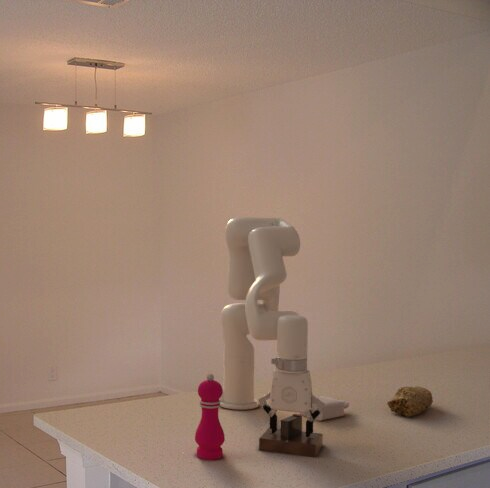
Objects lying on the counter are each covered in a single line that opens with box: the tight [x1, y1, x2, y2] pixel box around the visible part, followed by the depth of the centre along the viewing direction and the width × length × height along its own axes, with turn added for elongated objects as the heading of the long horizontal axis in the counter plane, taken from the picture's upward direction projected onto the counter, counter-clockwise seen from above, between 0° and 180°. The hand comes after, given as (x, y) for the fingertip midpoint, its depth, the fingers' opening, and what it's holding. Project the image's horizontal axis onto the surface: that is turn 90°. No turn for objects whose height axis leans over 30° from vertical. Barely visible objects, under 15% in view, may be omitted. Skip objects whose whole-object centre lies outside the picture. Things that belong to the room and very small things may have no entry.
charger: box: [300, 395, 350, 421], centre depth 215 cm, size 5×9×15 cm
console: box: [258, 427, 324, 458], centre depth 182 cm, size 14×11×3 cm
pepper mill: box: [194, 373, 226, 461], centre depth 176 cm, size 7×7×20 cm
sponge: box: [386, 386, 434, 417], centre depth 220 cm, size 13×8×20 cm
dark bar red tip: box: [280, 413, 303, 439], centre depth 182 cm, size 7×2×5 cm, turn 140°
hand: (291, 433), depth 182 cm, fingers open, 8 cm apart
